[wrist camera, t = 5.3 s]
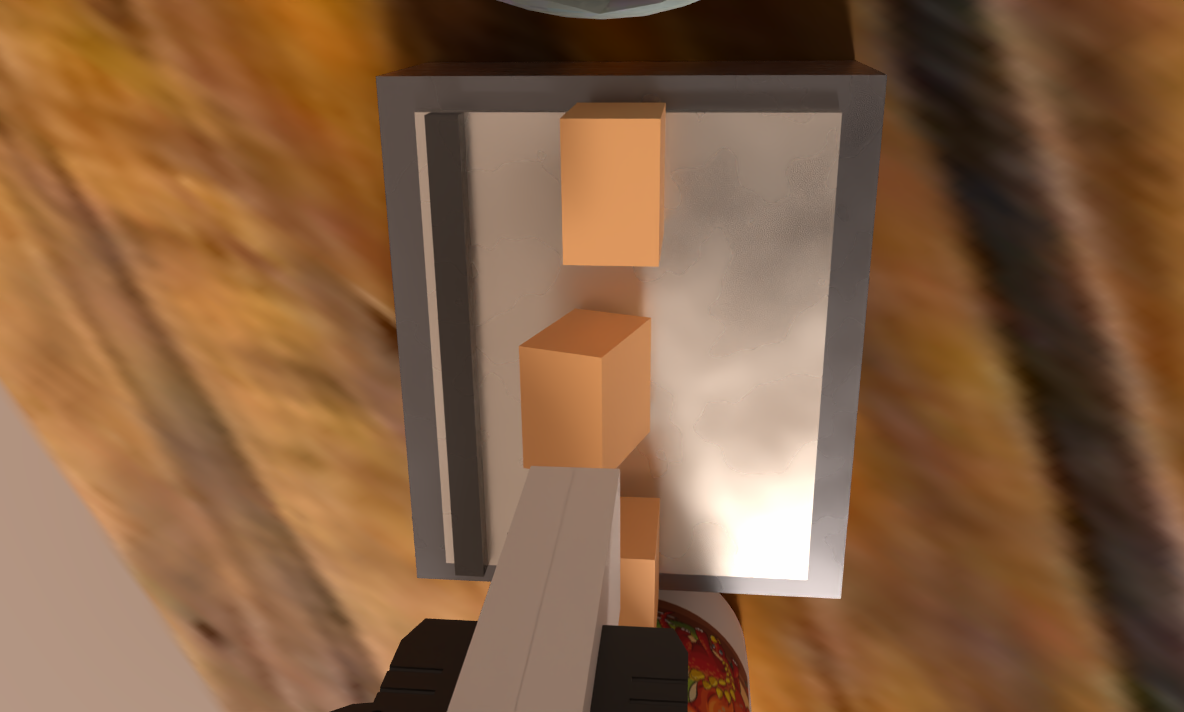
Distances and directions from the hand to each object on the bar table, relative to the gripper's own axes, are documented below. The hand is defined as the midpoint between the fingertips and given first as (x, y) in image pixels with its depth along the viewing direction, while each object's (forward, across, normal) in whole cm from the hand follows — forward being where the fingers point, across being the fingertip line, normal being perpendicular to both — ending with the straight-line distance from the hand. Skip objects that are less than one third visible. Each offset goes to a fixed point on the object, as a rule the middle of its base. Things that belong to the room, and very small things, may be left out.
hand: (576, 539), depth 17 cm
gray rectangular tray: (+15, 0, 0) cm, 15 cm away
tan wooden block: (+9, 0, +5) cm, 10 cm away
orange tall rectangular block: (+9, 0, -5) cm, 10 cm away
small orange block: (+9, 0, 0) cm, 9 cm away
